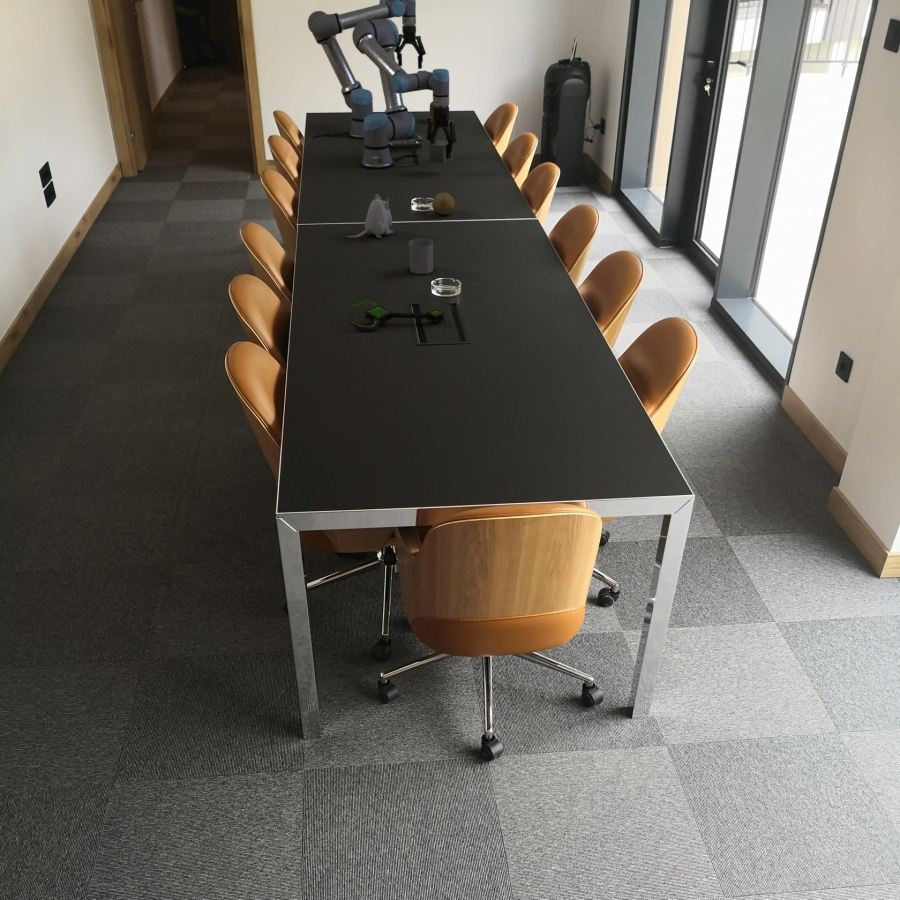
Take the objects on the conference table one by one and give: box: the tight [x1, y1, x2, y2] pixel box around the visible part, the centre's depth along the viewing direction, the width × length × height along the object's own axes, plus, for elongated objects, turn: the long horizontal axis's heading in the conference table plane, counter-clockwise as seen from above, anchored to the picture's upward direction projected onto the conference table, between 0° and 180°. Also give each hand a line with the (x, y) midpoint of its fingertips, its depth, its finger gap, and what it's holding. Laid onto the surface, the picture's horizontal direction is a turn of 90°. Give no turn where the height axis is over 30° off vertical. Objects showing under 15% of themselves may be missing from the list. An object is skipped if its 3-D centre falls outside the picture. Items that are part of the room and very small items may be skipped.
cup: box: [408, 237, 434, 275], centre depth 305 cm, size 8×8×10 cm
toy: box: [345, 193, 394, 239], centre depth 333 cm, size 9×24×15 cm, turn 137°
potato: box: [431, 192, 456, 216], centre depth 360 cm, size 10×14×8 cm
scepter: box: [348, 298, 446, 331], centre depth 269 cm, size 6×13×30 cm
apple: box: [429, 100, 435, 124], centre depth 502 cm, size 11×11×13 cm
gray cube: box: [429, 139, 454, 165], centre depth 408 cm, size 8×8×8 cm
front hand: (441, 156), depth 409 cm, fingers closed on gray cube, 8 cm apart
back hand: (410, 67), depth 481 cm, fingers open, 13 cm apart
